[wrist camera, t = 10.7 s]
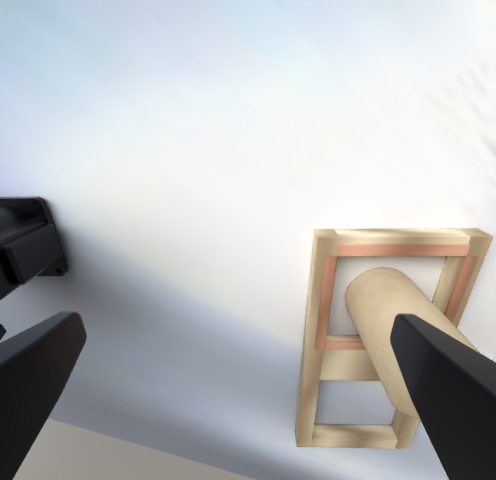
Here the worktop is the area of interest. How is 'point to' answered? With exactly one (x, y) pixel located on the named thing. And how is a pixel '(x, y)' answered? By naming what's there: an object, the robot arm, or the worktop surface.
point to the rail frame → (351, 347)
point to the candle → (391, 323)
